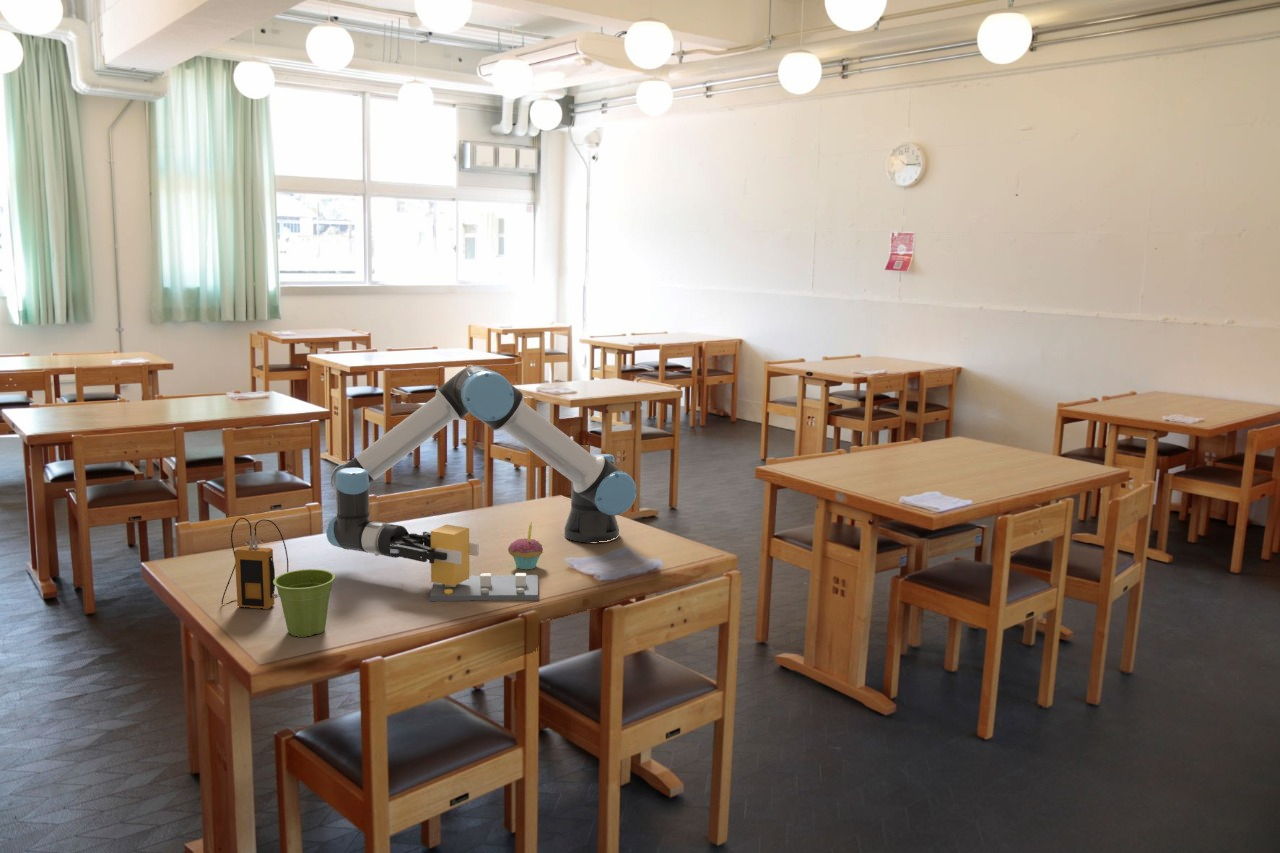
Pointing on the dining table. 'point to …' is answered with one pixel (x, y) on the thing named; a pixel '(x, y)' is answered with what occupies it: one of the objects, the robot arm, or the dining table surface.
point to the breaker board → (488, 588)
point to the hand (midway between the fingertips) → (469, 553)
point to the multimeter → (254, 573)
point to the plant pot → (305, 600)
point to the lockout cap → (450, 540)
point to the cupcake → (526, 551)
